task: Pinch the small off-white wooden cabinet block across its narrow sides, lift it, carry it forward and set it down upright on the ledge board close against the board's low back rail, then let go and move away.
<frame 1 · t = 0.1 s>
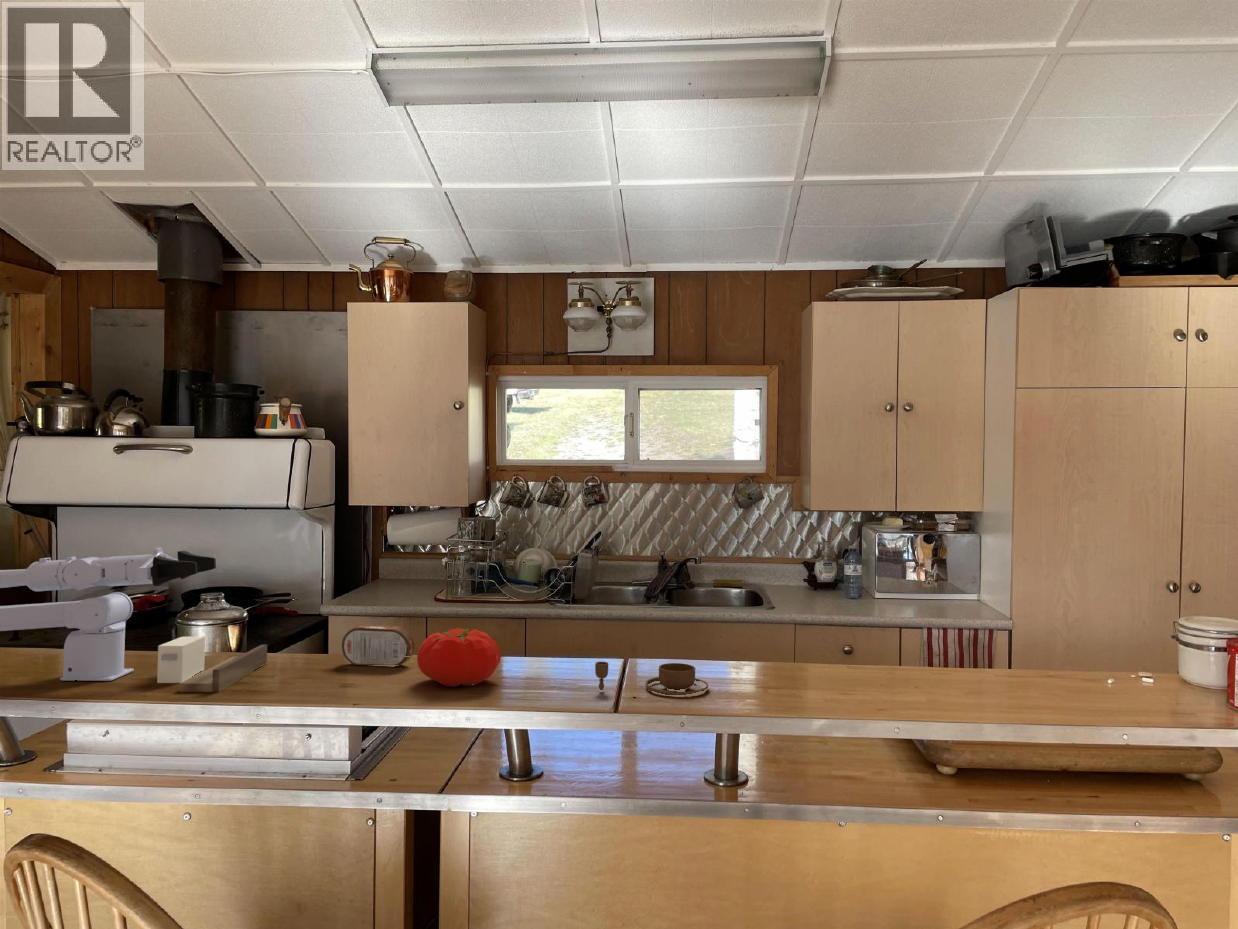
hand: (206, 565, 155), 22 cm above the table, tool horizontal, fingers open, 7 cm apart
ledge board: (226, 677, 155), on the table
tomato: (458, 684, 153), on the table
place setting: (655, 691, 152), on the table
cabinet block: (181, 677, 154), on the table
tin: (377, 667, 166), on the table
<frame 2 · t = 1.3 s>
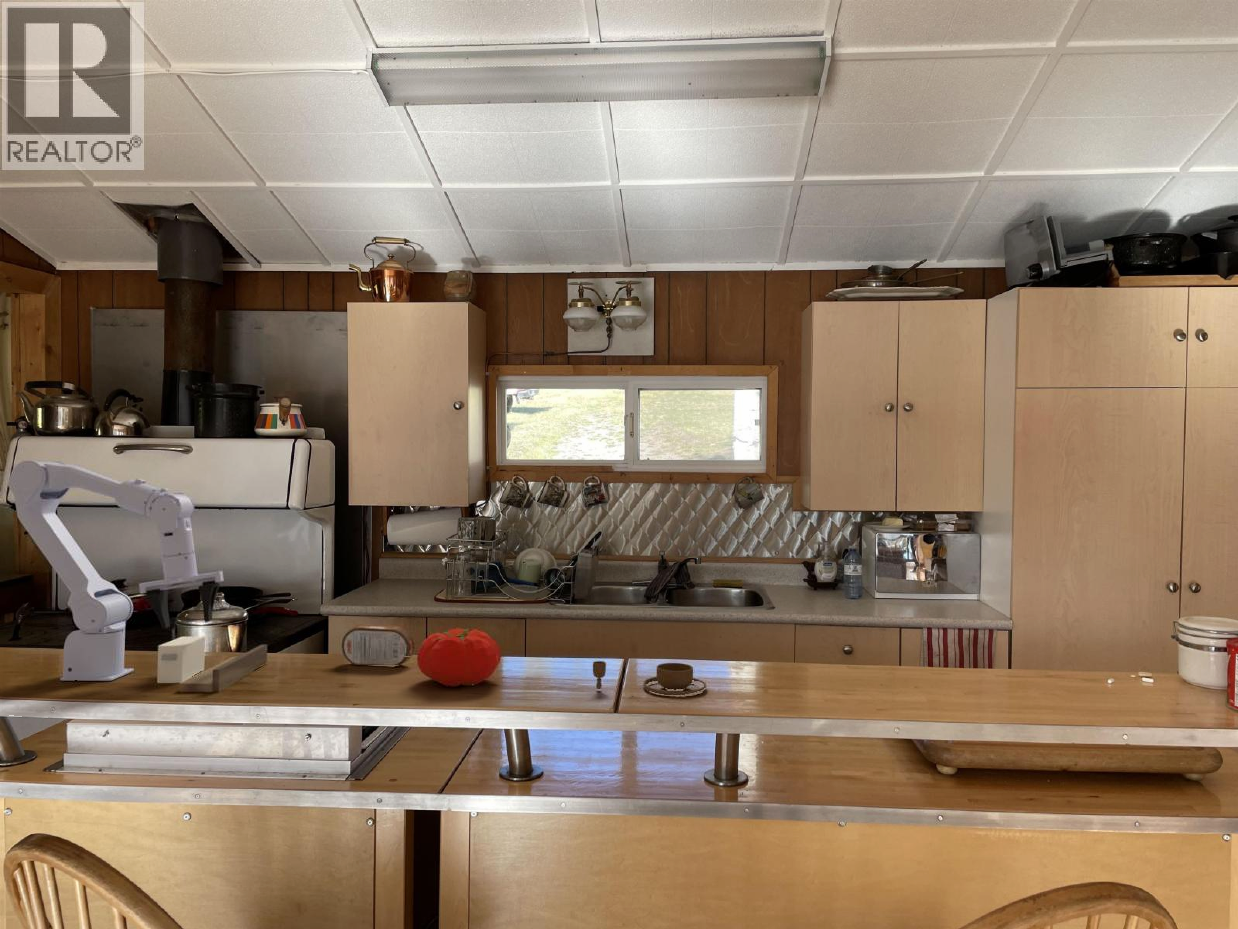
hand: (187, 624, 155), 10 cm above the table, tool pointing down, fingers open, 7 cm apart
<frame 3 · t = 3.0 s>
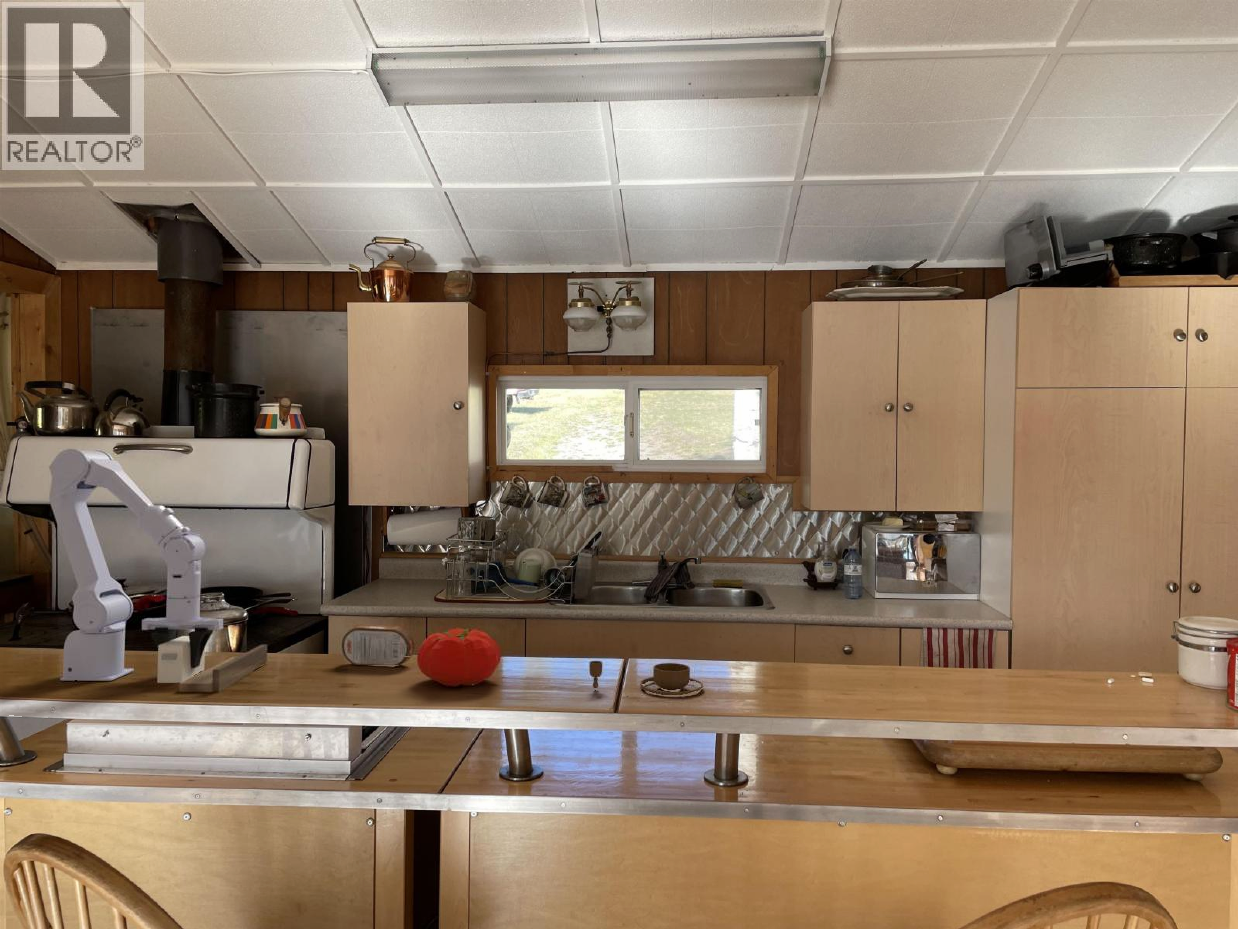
hand: (181, 666, 155), 2 cm above the table, tool pointing down, fingers closed on cabinet block, 4 cm apart
cabinet block: (181, 676, 154), on the table, touching gripper
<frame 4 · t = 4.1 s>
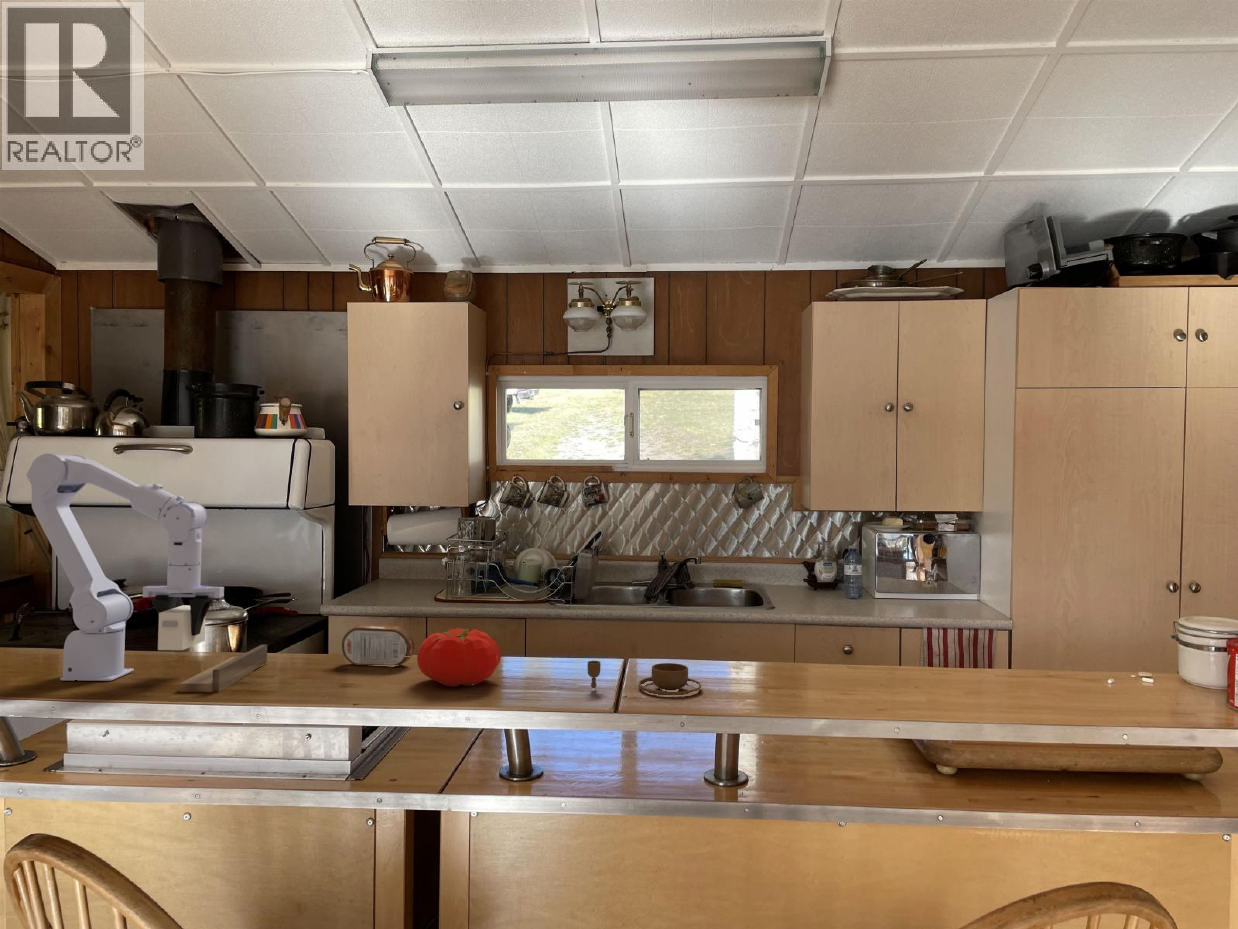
hand: (182, 634, 155), 8 cm above the table, tool pointing down, fingers closed on cabinet block, 4 cm apart
cabinet block: (182, 645, 155), point 6 cm above the table, touching gripper
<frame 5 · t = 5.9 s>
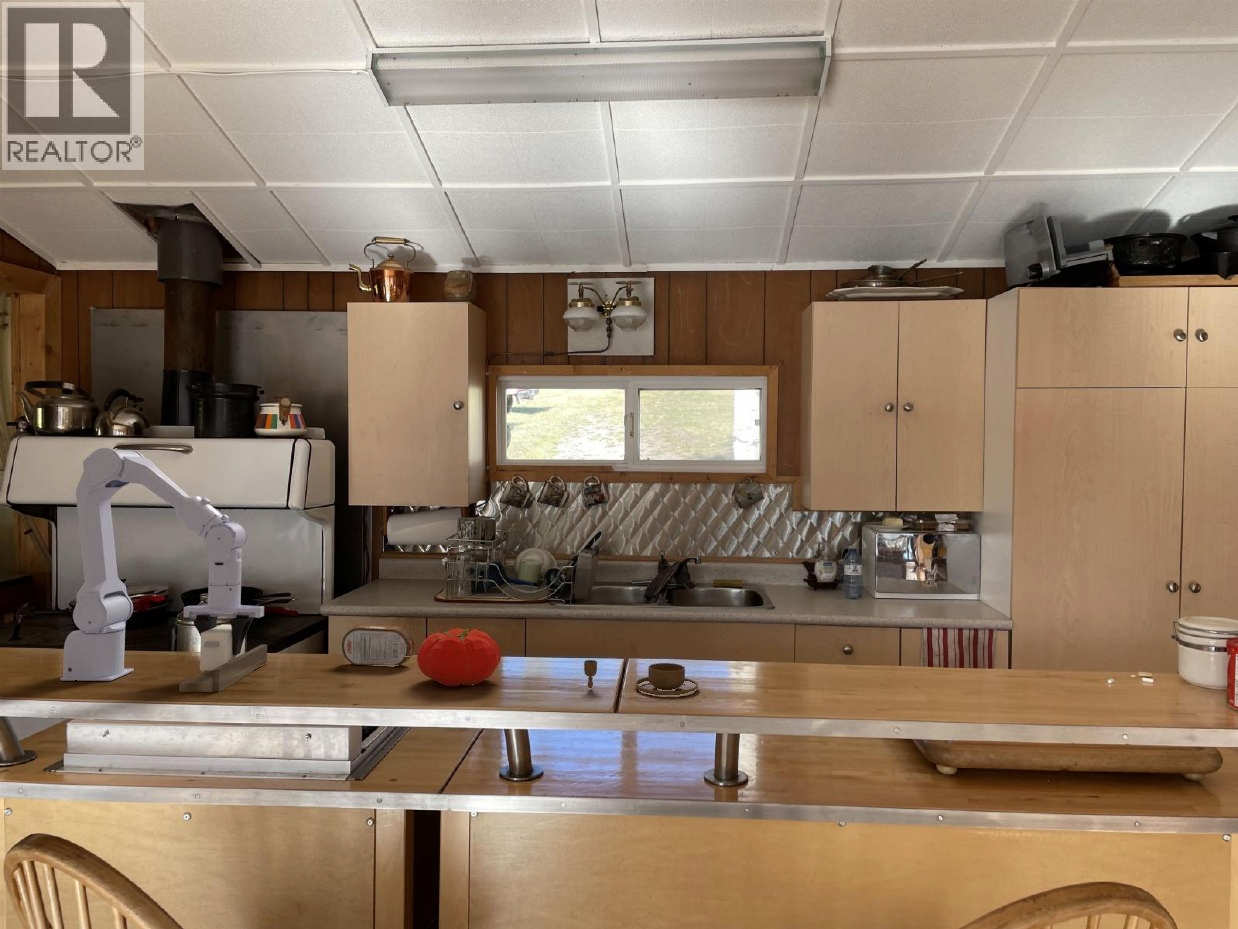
hand: (223, 654, 155), 4 cm above the table, tool pointing down, fingers closed on cabinet block, 4 cm apart
cabinet block: (222, 664, 155), point 2 cm above the table, touching gripper
when the fingers open (4 cm above the table, at t = 6.3 s): cabinet block stays where it is, resting on ledge board.
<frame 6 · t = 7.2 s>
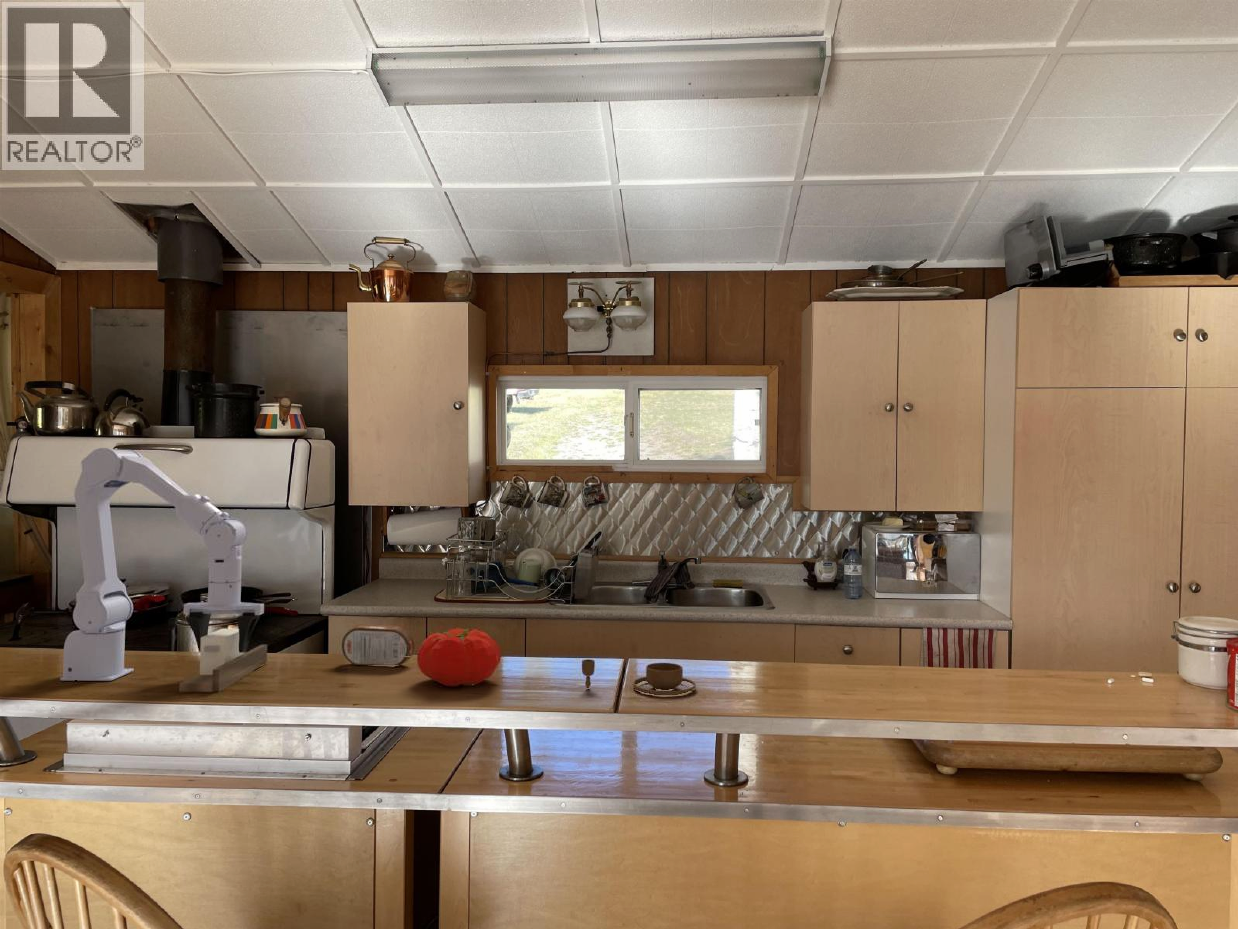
hand: (222, 651, 155), 5 cm above the table, tool pointing down, fingers open, 7 cm apart
cabinet block: (222, 669, 155), point 1 cm above the table, touching ledge board
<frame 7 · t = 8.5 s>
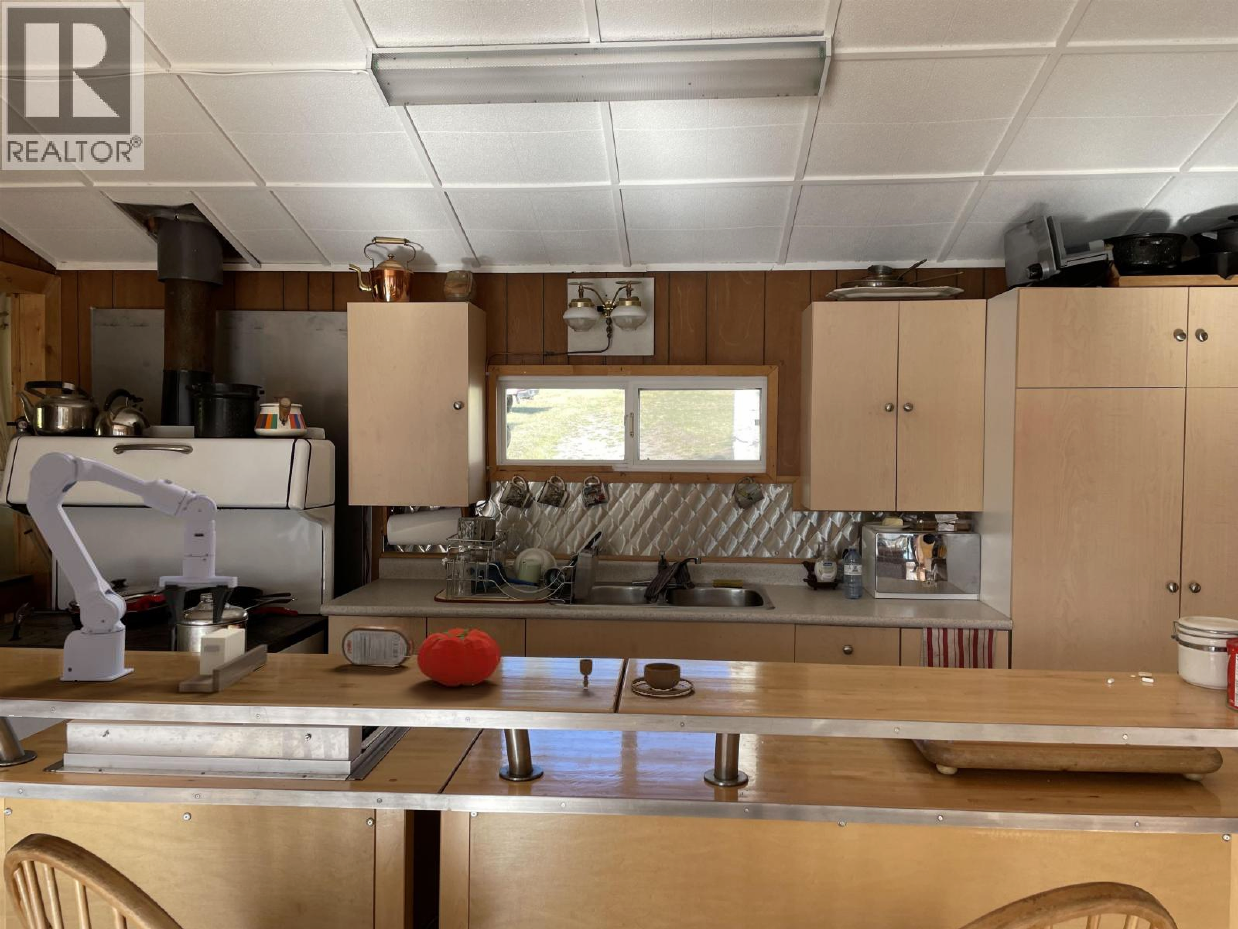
hand: (197, 622, 161), 9 cm above the table, tool pointing down, fingers open, 7 cm apart
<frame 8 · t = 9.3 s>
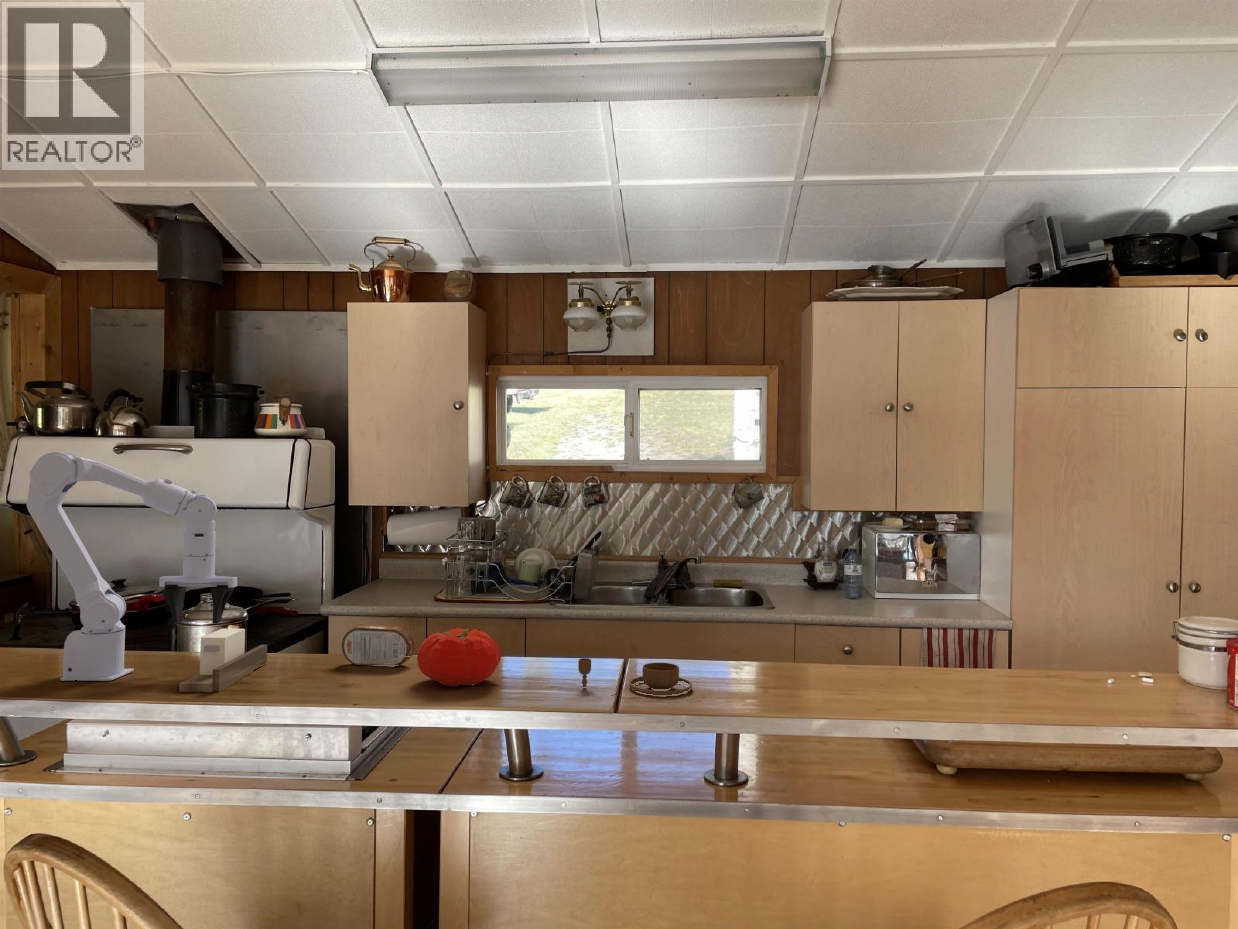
hand: (197, 622, 161), 9 cm above the table, tool pointing down, fingers open, 7 cm apart
at the end: cabinet block 0.2 cm off-centre on the ledge board, point 1.5 cm above the ledge board's base; cabinet block tilted 0°; the gripper is holding nothing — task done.
